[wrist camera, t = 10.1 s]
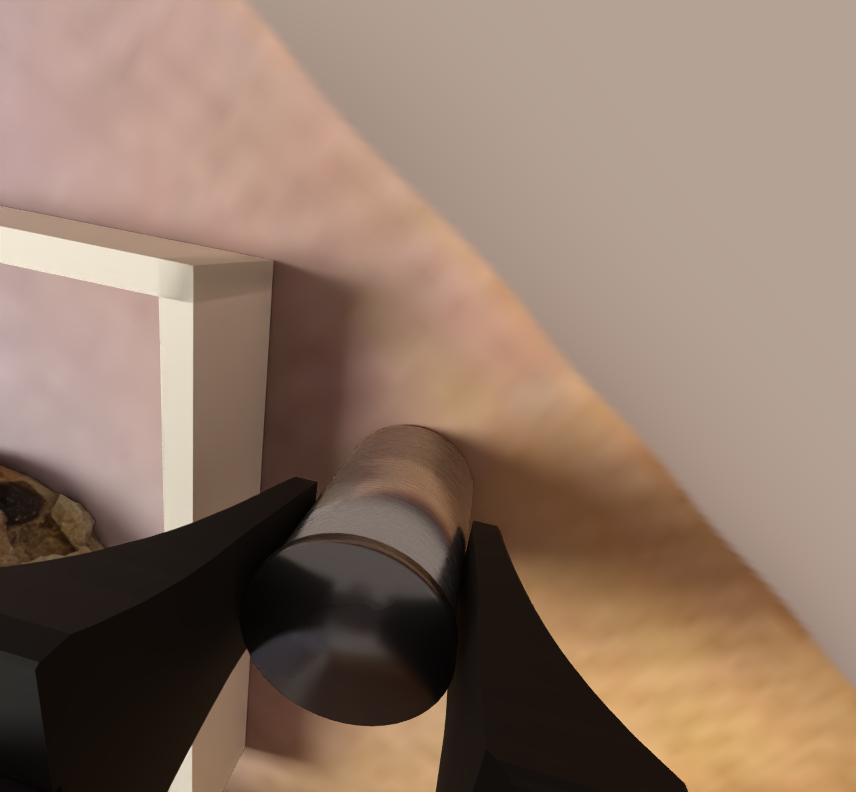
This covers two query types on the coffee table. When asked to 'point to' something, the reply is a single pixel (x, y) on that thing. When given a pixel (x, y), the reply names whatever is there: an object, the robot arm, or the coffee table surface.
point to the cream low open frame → (184, 395)
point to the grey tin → (368, 585)
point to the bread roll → (40, 522)
